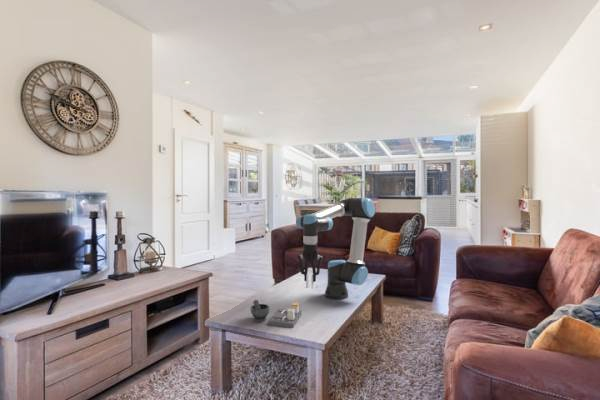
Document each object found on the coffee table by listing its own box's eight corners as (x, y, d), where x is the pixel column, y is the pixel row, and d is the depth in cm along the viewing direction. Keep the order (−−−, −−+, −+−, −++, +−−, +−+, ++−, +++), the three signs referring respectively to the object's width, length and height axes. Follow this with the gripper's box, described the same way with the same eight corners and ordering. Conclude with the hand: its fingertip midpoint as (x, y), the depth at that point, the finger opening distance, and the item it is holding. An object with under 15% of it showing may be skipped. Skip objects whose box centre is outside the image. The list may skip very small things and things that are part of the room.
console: (301, 314, 175) (301, 310, 175) (293, 327, 157) (293, 323, 157) (278, 312, 178) (278, 308, 178) (268, 325, 160) (268, 320, 160)
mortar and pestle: (256, 315, 173) (256, 293, 173) (272, 317, 170) (272, 295, 170) (246, 323, 162) (246, 300, 162) (263, 325, 159) (263, 302, 159)
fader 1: (294, 317, 164) (294, 309, 164) (293, 320, 161) (293, 311, 161) (288, 317, 165) (288, 308, 165) (287, 319, 162) (287, 310, 162)
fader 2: (298, 311, 173) (298, 303, 173) (297, 313, 170) (297, 305, 170) (293, 311, 174) (293, 302, 173) (291, 313, 170) (291, 304, 170)
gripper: (325, 243, 171) (325, 286, 172) (298, 241, 175) (297, 284, 175) (323, 245, 164) (323, 290, 164) (294, 243, 167) (294, 288, 168)
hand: (310, 287), depth 170 cm, fingers open, 2 cm apart
